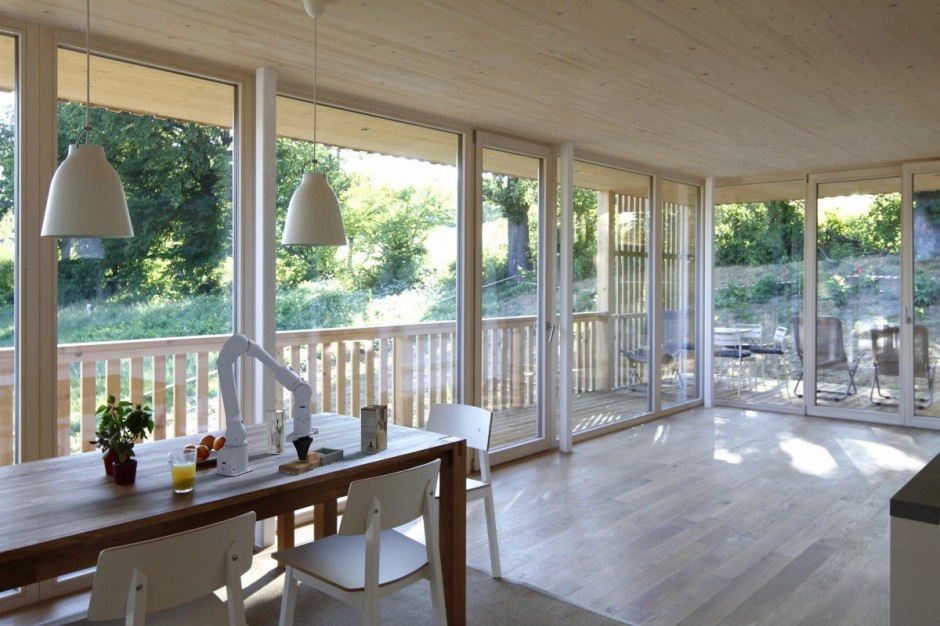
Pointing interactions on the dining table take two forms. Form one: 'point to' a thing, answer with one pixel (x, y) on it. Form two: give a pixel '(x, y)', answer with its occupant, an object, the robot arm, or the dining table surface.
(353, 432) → the dining table surface
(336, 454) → the tray
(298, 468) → the board
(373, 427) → the coffee box
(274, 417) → the beer glass
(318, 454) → the tile cream
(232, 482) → the dining table surface
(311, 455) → the tile terracotta
